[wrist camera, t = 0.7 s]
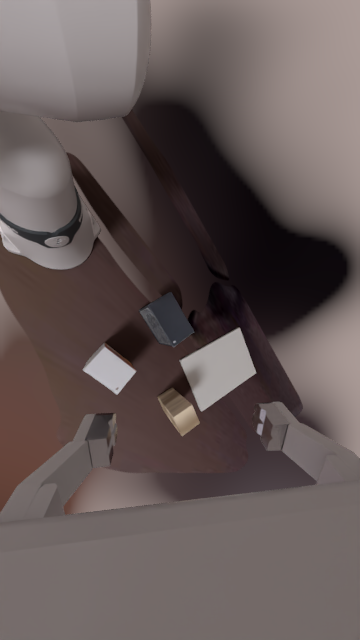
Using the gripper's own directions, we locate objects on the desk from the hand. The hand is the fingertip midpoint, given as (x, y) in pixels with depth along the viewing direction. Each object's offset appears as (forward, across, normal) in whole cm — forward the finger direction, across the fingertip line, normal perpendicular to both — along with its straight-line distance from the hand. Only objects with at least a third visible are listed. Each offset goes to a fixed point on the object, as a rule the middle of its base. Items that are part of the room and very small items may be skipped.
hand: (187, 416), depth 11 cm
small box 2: (+39, +2, +7) cm, 39 cm away
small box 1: (+32, +14, +15) cm, 38 cm away
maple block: (+32, 0, +27) cm, 42 cm away
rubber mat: (+39, -16, +22) cm, 47 cm away
